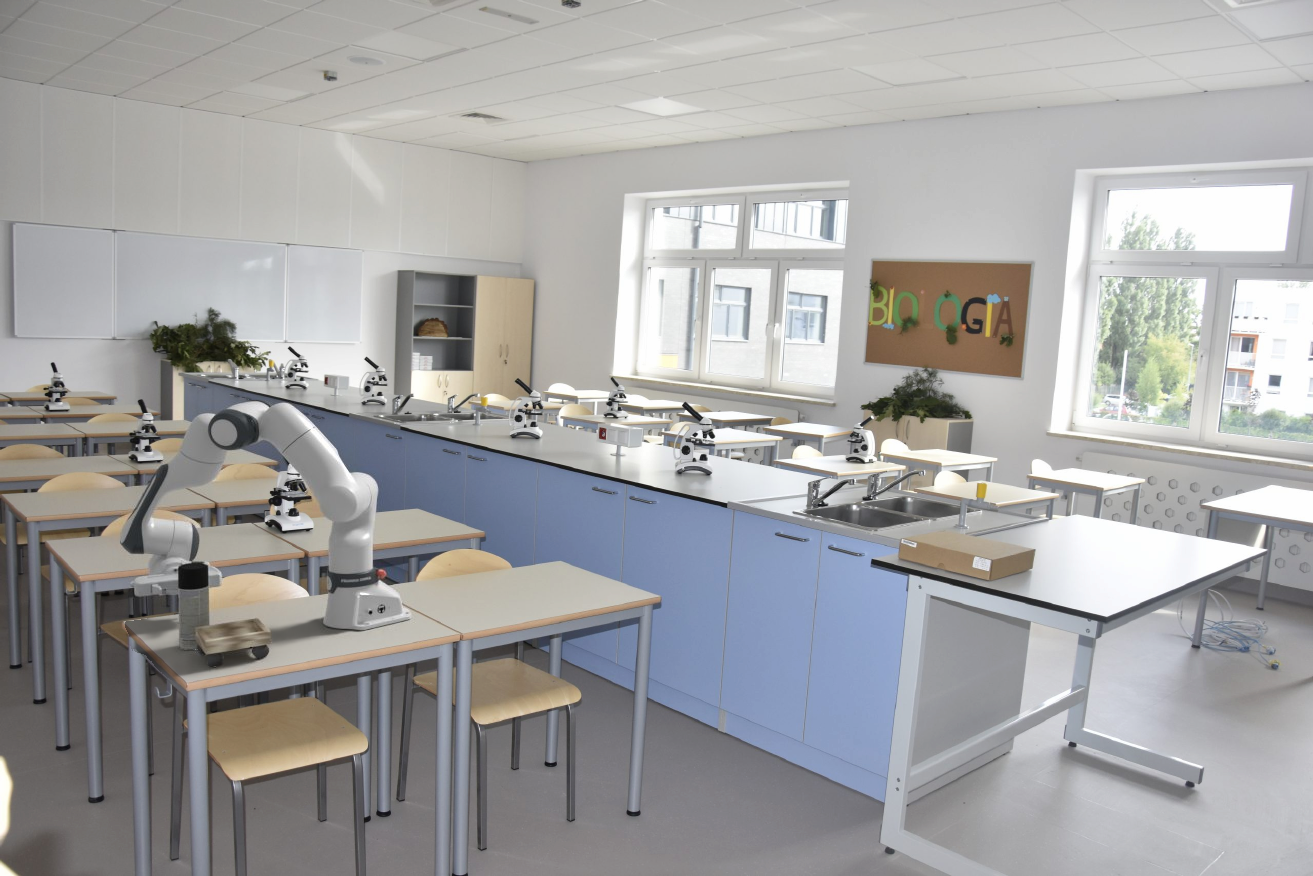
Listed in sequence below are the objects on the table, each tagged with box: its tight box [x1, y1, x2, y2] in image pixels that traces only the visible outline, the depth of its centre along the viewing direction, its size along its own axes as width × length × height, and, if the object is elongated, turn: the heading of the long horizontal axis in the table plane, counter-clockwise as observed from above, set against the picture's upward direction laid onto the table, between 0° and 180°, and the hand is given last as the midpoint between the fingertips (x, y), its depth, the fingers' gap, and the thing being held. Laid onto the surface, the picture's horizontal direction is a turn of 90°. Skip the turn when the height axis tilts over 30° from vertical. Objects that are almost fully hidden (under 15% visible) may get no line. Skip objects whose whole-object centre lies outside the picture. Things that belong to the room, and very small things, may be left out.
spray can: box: [177, 563, 210, 651], centre depth 228 cm, size 7×7×20 cm
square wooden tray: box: [195, 617, 272, 668], centre depth 223 cm, size 14×12×6 cm
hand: (183, 589), depth 238 cm, fingers open, 8 cm apart
